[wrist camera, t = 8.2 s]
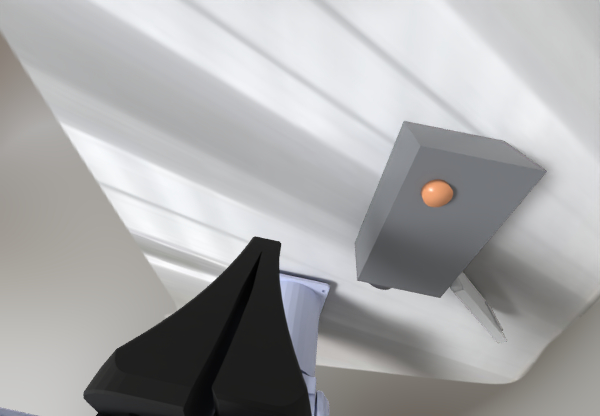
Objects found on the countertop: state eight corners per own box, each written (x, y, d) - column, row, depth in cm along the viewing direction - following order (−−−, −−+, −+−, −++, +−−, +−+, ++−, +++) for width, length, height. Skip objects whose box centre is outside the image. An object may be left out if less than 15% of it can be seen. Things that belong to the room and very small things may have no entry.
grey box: (421, 266, 25) (437, 312, 21) (351, 251, 25) (353, 295, 21) (506, 141, 17) (557, 177, 13) (403, 121, 17) (423, 150, 13)
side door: (432, 250, 23) (447, 288, 20) (443, 245, 23) (461, 283, 20) (476, 304, 27) (496, 343, 24) (487, 300, 26) (509, 341, 23)
